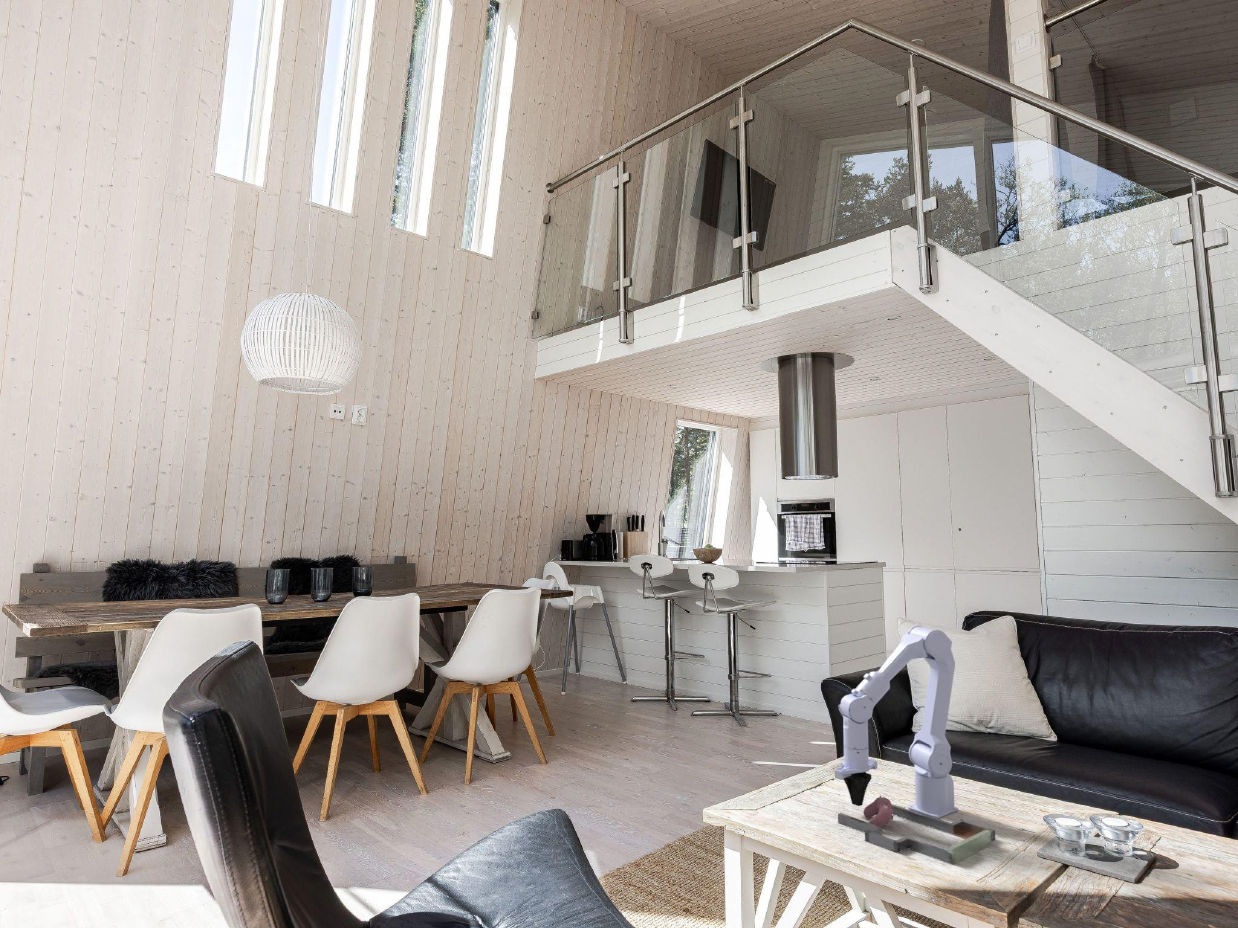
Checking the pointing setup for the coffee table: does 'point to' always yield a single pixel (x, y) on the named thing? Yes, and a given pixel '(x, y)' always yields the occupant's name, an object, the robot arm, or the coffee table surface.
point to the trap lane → (973, 842)
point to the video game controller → (879, 812)
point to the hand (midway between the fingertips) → (857, 804)
